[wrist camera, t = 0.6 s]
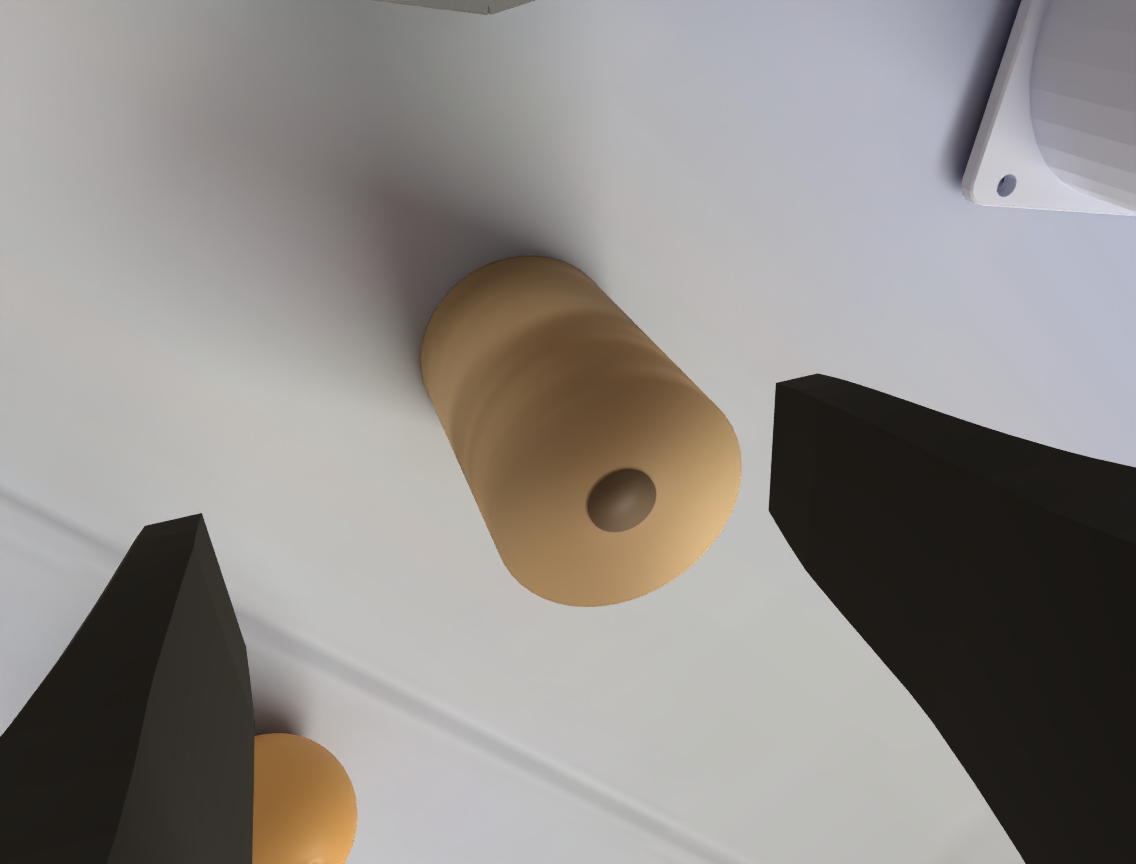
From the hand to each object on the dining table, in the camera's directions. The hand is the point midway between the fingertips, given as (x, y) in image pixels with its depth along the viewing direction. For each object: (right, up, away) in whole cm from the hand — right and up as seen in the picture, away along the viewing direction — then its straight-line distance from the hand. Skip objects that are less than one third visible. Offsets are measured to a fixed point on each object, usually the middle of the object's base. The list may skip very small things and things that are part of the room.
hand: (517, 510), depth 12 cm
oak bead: (0, +3, +9) cm, 9 cm away
